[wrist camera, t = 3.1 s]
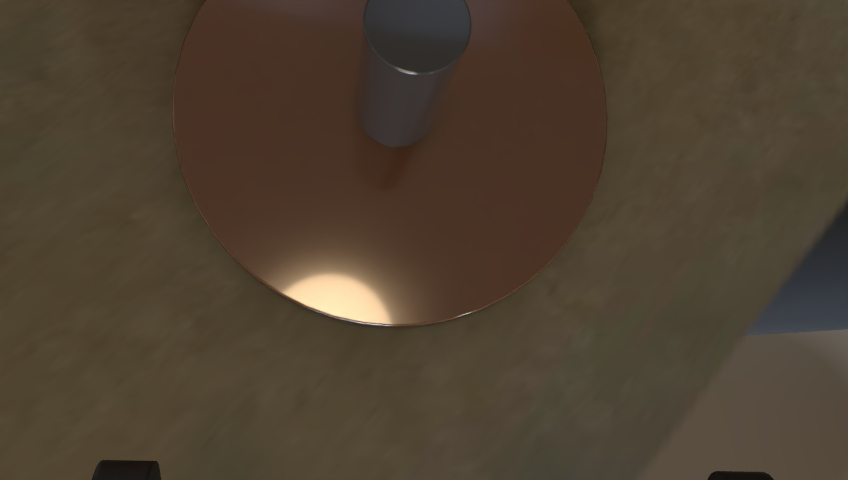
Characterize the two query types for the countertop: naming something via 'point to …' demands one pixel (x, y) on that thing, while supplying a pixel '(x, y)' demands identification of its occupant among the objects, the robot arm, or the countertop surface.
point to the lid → (390, 147)
